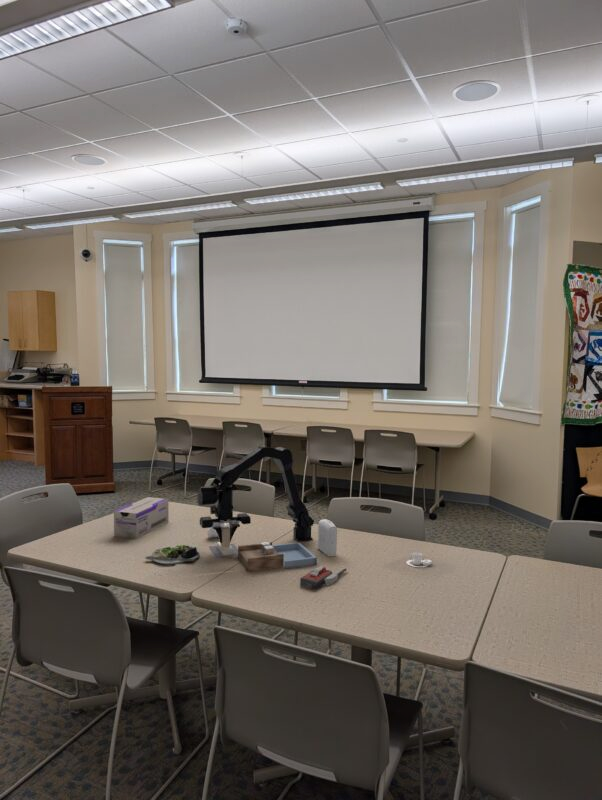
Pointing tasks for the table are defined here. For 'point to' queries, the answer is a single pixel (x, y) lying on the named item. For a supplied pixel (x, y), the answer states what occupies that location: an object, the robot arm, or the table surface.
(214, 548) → the mat
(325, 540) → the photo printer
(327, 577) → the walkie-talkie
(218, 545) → the plate with square knob
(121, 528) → the surgical sutures box
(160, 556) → the salad plate
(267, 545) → the chip
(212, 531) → the bust
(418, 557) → the teacup and saucer
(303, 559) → the chip tray
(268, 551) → the grey square block
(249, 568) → the groove block
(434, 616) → the table surface
